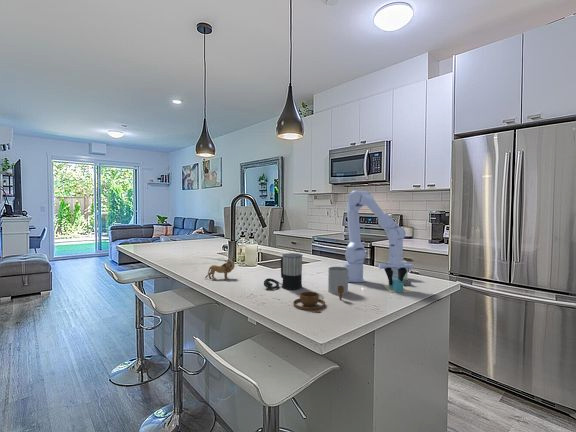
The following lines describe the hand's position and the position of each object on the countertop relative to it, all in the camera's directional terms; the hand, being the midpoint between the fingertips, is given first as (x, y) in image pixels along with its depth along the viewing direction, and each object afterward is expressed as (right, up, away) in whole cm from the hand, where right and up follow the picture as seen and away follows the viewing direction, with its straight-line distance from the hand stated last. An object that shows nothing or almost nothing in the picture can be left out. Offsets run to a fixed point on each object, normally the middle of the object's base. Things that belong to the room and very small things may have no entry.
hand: (395, 284), depth 143 cm
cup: (-26, -2, -4) cm, 26 cm away
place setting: (-35, -4, -23) cm, 42 cm away
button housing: (+7, -2, +9) cm, 11 cm away
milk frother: (-50, -2, +2) cm, 50 cm away
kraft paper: (+1, -2, +1) cm, 2 cm away
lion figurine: (-81, -1, +20) cm, 84 cm away
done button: (+7, 0, +9) cm, 11 cm away
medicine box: (+9, -1, +21) cm, 23 cm away
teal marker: (0, -2, -1) cm, 2 cm away
